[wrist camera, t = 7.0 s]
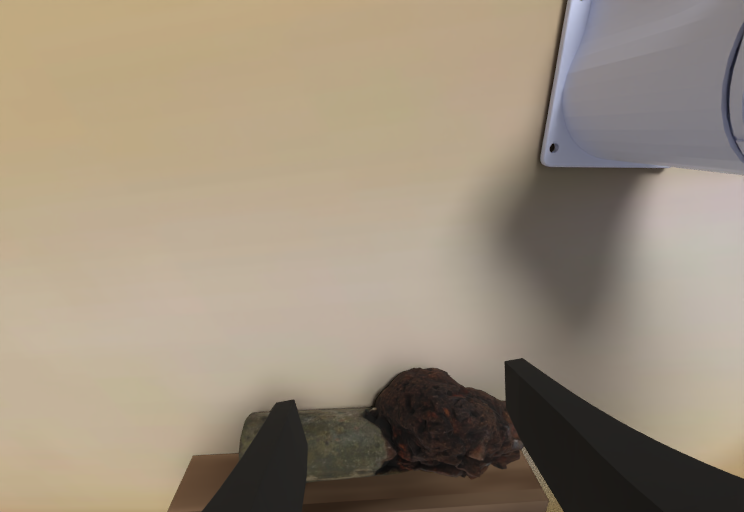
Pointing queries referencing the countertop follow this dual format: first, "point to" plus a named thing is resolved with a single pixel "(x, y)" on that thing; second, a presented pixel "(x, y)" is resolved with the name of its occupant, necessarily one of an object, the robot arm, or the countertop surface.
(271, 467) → the robot arm
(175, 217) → the countertop surface
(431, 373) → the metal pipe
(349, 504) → the brown wooden plank
